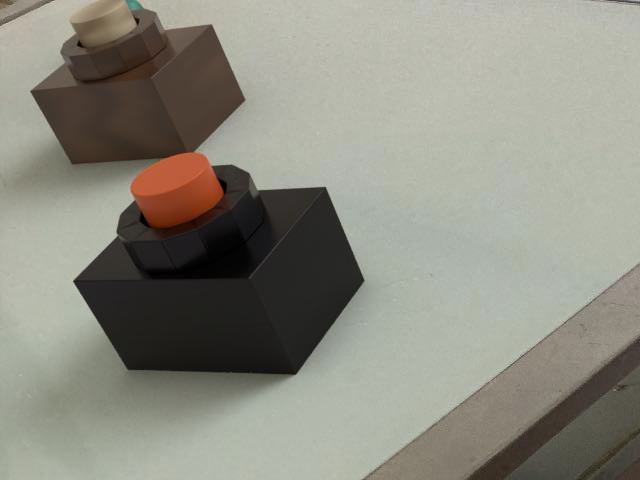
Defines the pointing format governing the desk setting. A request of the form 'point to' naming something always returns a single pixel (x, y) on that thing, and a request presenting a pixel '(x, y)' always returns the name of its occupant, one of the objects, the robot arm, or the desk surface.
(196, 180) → the front button
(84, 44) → the back button
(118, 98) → the back block
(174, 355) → the front block
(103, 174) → the desk surface
